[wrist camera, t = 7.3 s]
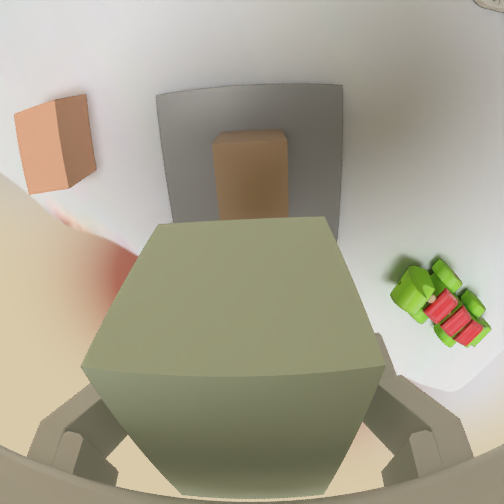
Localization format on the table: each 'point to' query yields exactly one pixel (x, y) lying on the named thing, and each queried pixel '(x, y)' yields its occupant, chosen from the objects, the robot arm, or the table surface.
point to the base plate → (248, 112)
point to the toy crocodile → (442, 304)
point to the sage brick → (239, 357)
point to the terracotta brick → (55, 144)
